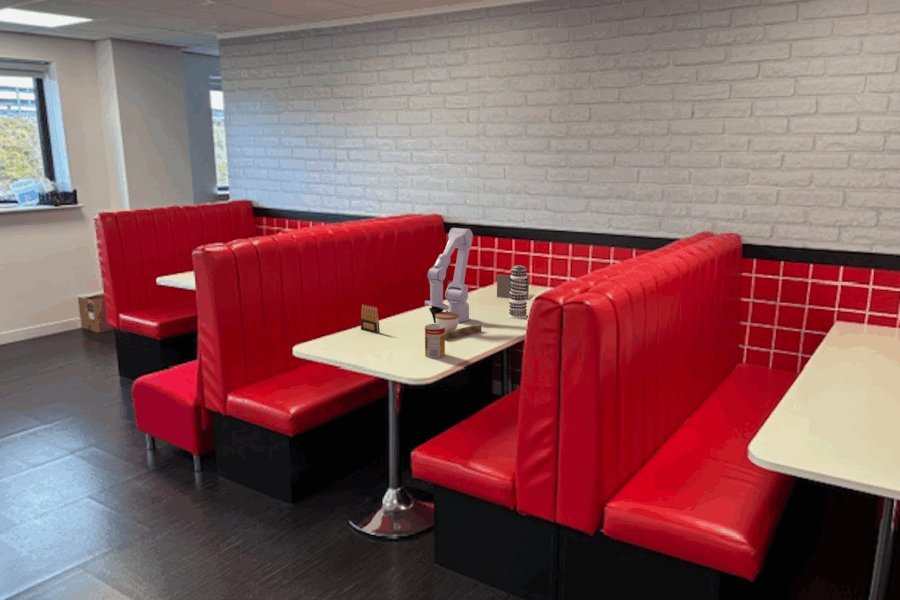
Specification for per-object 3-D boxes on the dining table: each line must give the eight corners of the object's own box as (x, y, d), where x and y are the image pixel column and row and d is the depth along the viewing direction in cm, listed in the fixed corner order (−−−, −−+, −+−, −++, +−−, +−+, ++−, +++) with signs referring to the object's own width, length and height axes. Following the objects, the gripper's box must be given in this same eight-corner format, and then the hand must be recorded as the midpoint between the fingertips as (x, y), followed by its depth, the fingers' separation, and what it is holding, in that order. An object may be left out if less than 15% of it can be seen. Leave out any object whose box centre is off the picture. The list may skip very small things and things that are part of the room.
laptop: (534, 295, 384) (534, 272, 382) (528, 300, 373) (528, 276, 370) (503, 293, 391) (503, 270, 388) (496, 297, 379) (496, 274, 377)
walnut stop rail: (478, 330, 312) (478, 324, 311) (481, 331, 310) (481, 325, 310) (441, 339, 297) (441, 332, 297) (445, 340, 296) (445, 333, 295)
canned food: (444, 352, 279) (444, 323, 277) (445, 358, 272) (445, 329, 269) (425, 352, 279) (424, 324, 276) (425, 358, 271) (424, 329, 269)
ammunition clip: (379, 332, 308) (379, 306, 305) (376, 333, 306) (376, 307, 304) (363, 328, 315) (363, 303, 312) (360, 329, 313) (360, 303, 311)
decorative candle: (517, 319, 331) (518, 268, 326) (504, 315, 339) (505, 265, 333) (531, 316, 337) (532, 266, 331) (518, 313, 344) (519, 263, 338)
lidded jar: (463, 330, 313) (463, 309, 311) (451, 335, 304) (451, 314, 302) (443, 326, 318) (443, 307, 316) (430, 332, 309) (430, 311, 307)
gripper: (419, 292, 315) (419, 321, 318) (440, 297, 305) (440, 327, 308) (431, 290, 320) (431, 318, 323) (452, 295, 309) (452, 324, 312)
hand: (436, 322), depth 316 cm, fingers closed
